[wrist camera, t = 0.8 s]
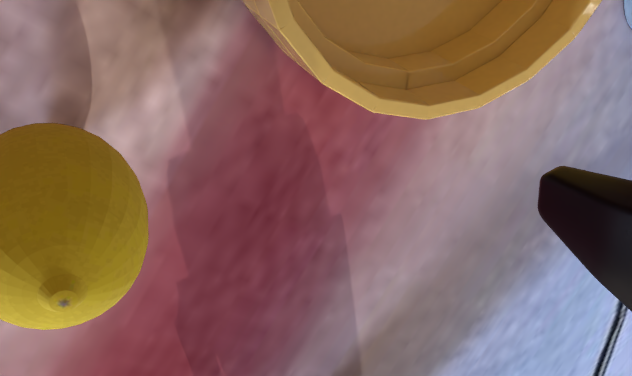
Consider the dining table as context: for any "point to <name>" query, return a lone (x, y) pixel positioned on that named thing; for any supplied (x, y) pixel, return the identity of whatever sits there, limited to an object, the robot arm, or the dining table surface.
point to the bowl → (422, 47)
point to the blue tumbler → (628, 11)
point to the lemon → (66, 226)
